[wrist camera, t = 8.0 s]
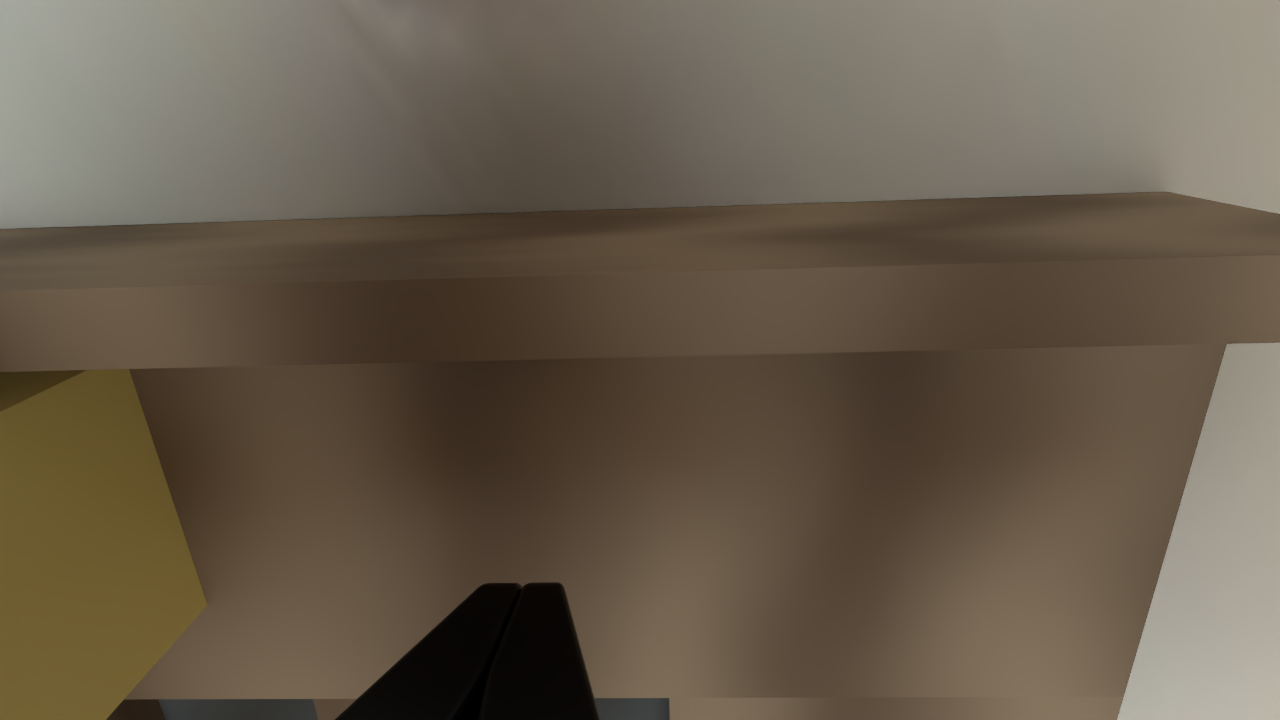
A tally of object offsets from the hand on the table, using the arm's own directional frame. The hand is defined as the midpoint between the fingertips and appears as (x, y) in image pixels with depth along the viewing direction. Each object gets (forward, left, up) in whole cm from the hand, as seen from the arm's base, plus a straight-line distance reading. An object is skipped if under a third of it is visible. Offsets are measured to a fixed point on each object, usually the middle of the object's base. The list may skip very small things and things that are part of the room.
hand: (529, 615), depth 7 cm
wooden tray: (+2, +4, -6) cm, 8 cm away
